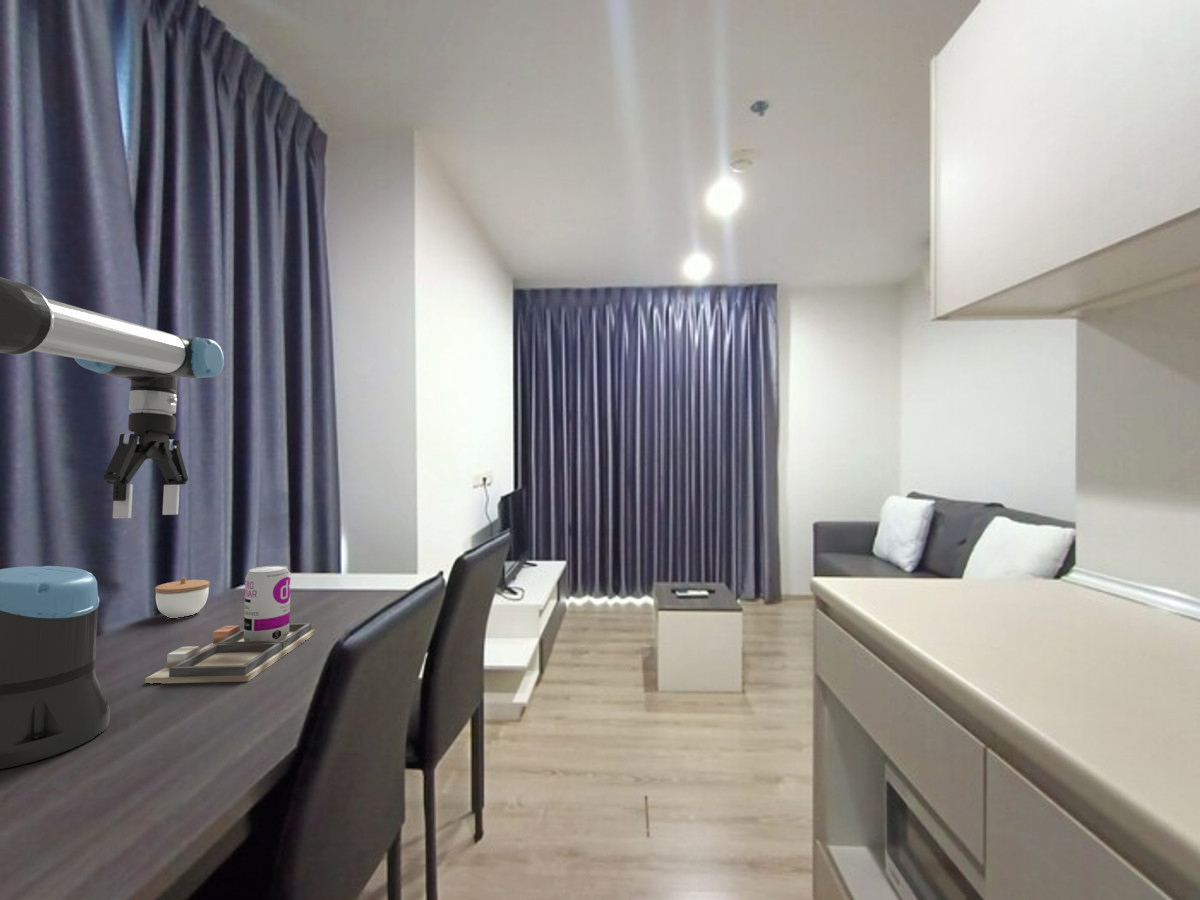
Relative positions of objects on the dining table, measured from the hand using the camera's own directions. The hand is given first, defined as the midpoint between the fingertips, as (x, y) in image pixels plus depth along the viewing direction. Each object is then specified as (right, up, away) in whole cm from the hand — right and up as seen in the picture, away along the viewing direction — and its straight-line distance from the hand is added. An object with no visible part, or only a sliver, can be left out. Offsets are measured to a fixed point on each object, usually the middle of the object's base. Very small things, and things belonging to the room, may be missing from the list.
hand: (147, 516), depth 108 cm
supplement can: (+22, -27, +4) cm, 35 cm away
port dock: (+21, -28, -3) cm, 35 cm away
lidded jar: (-12, -28, +24) cm, 39 cm away
